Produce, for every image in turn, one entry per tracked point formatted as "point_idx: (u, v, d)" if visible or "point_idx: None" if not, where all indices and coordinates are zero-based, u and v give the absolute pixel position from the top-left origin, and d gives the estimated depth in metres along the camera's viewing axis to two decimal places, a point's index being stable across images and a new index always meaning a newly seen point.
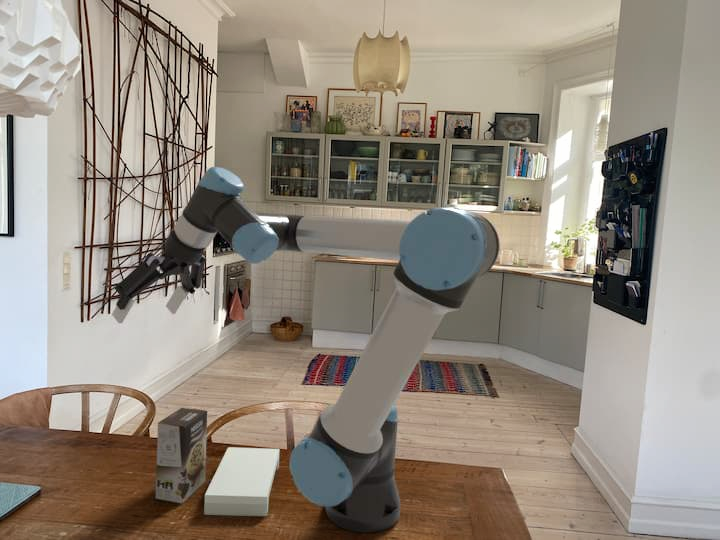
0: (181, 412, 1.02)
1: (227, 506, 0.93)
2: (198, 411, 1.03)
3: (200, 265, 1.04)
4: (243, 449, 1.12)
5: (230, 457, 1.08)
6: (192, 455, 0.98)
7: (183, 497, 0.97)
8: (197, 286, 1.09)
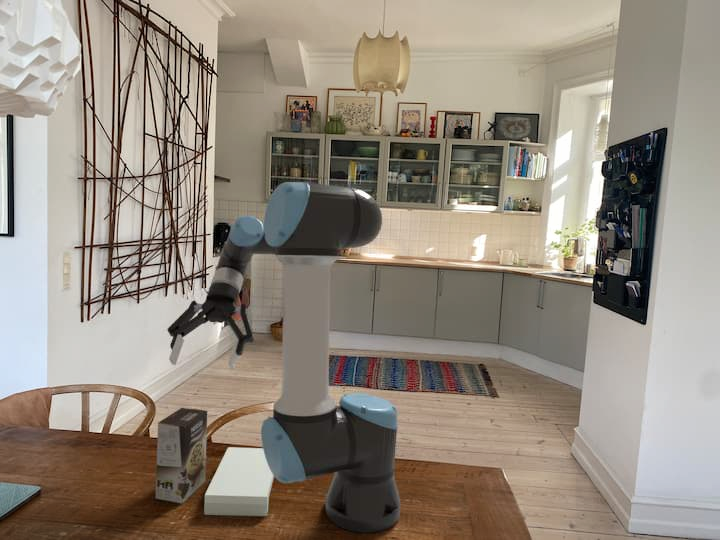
0: (181, 412, 1.02)
1: (227, 506, 0.93)
2: (198, 411, 1.03)
3: (241, 310, 1.18)
4: (243, 449, 1.12)
5: (230, 457, 1.08)
6: (192, 455, 0.98)
7: (183, 497, 0.97)
8: (248, 334, 1.13)
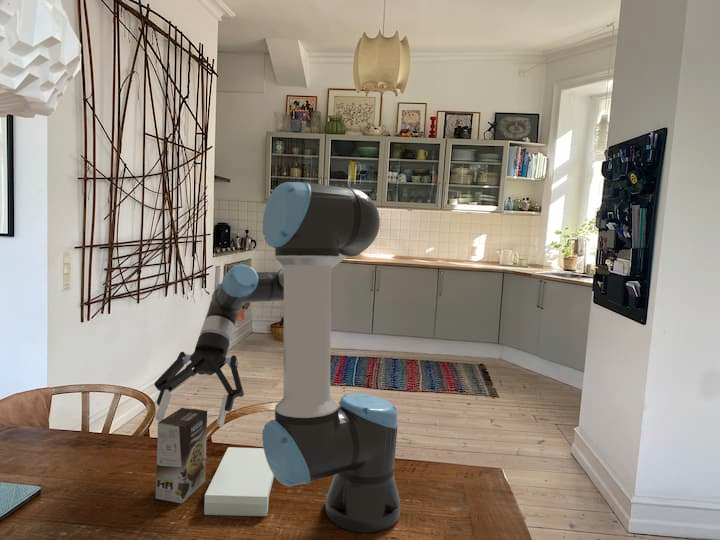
0: (181, 412, 1.02)
1: (227, 506, 0.93)
2: (197, 411, 1.03)
3: (231, 362, 1.13)
4: (243, 449, 1.12)
5: (230, 457, 1.08)
6: (192, 455, 0.98)
7: (183, 497, 0.97)
8: (238, 388, 1.09)
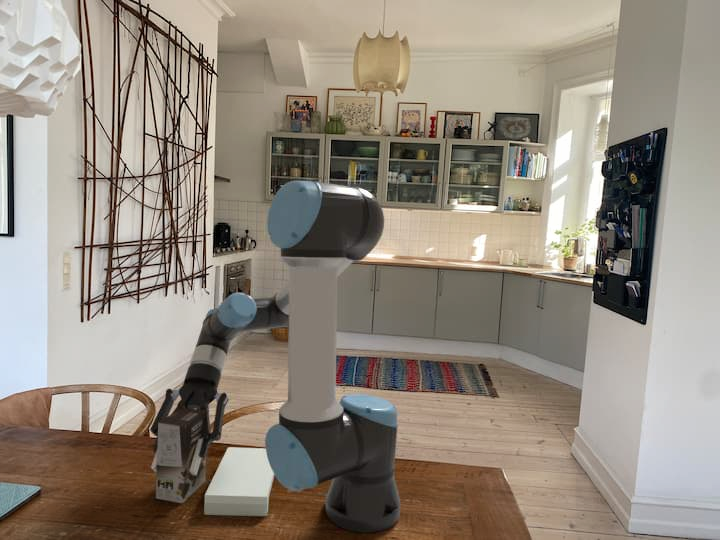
0: (181, 412, 1.02)
1: (227, 506, 0.93)
2: (198, 411, 1.03)
3: (219, 400, 1.06)
4: (243, 449, 1.12)
5: (230, 457, 1.08)
6: (193, 455, 0.98)
7: (183, 497, 0.97)
8: (214, 432, 1.01)
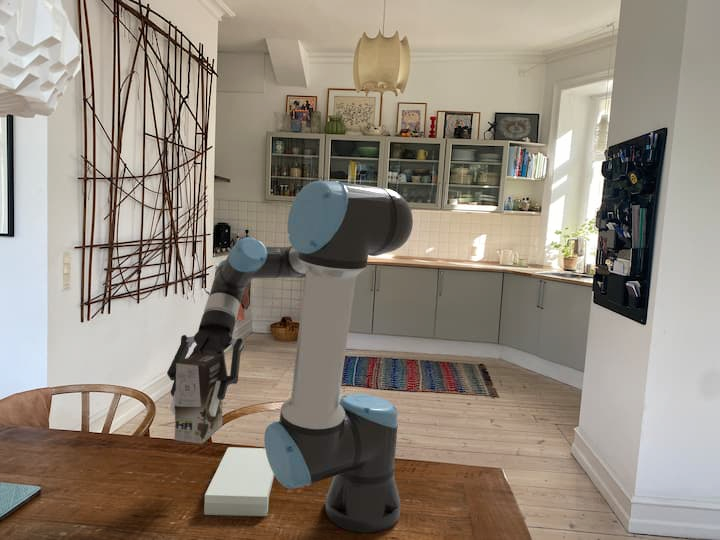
0: (197, 356, 1.01)
1: (227, 506, 0.93)
2: (214, 355, 1.03)
3: (235, 345, 1.05)
4: (243, 449, 1.12)
5: (230, 457, 1.08)
6: (211, 396, 0.98)
7: (203, 437, 0.96)
8: (231, 374, 1.01)
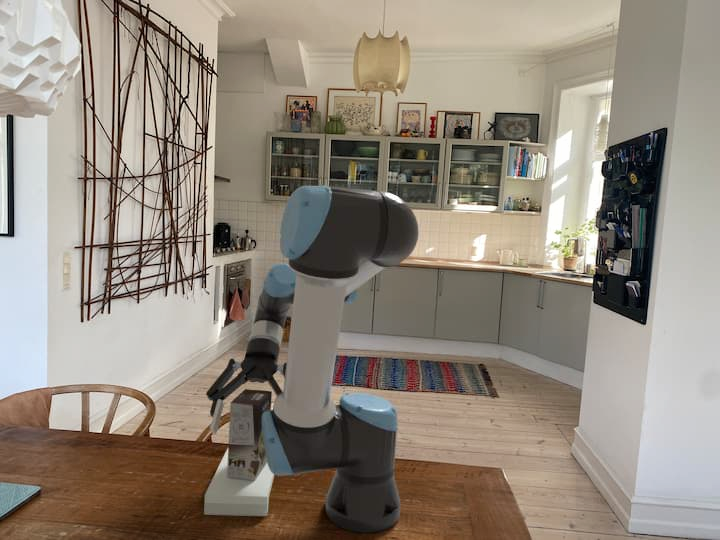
0: (247, 393, 1.04)
1: (227, 506, 0.93)
2: (263, 392, 1.05)
3: (284, 370, 1.08)
4: None
5: None
6: (262, 434, 1.01)
7: (255, 474, 0.99)
8: None
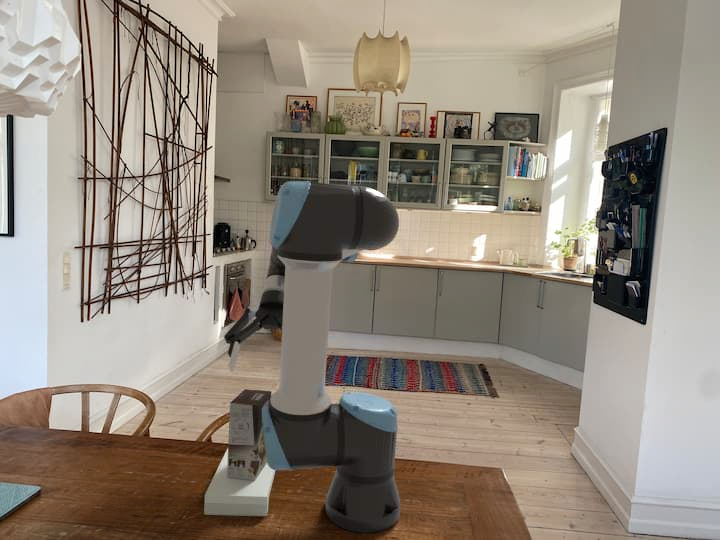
0: (247, 393, 1.04)
1: (227, 506, 0.93)
2: (262, 392, 1.05)
3: None
4: None
5: None
6: (262, 434, 1.01)
7: (255, 474, 0.99)
8: None
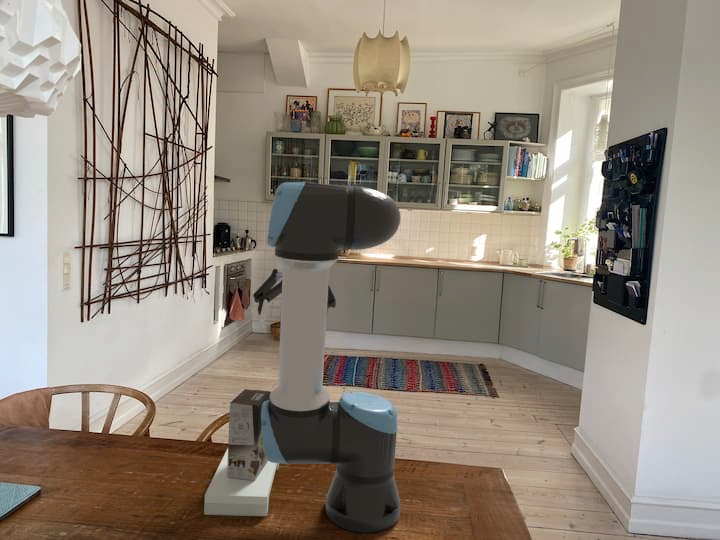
0: (247, 393, 1.04)
1: (227, 506, 0.93)
2: (262, 392, 1.05)
3: None
4: None
5: None
6: None
7: (255, 474, 0.99)
8: (331, 299, 1.17)
